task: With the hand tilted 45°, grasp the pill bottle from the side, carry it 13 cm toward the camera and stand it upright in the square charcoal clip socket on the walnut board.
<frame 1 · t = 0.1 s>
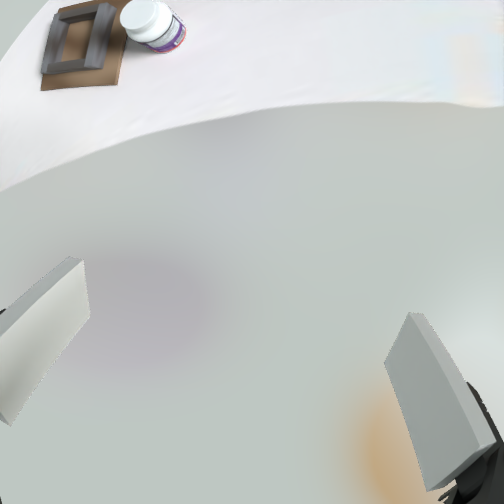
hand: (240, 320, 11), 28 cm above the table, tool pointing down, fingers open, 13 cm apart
clip stand: (85, 42, 30), on the table
pill bottle: (168, 36, 30), on the table
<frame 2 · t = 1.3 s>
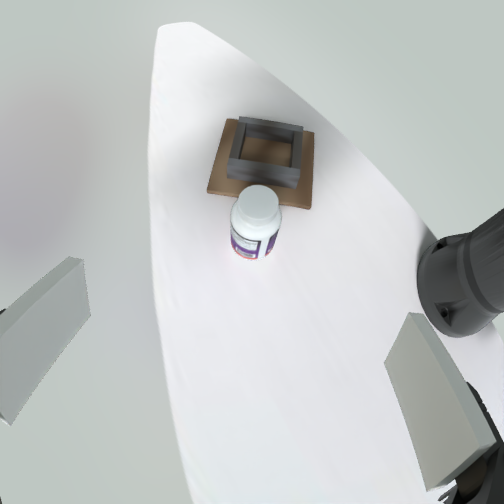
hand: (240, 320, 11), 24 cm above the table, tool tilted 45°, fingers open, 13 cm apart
clip stand: (265, 160, 43), on the table
pill bottle: (252, 242, 38), on the table
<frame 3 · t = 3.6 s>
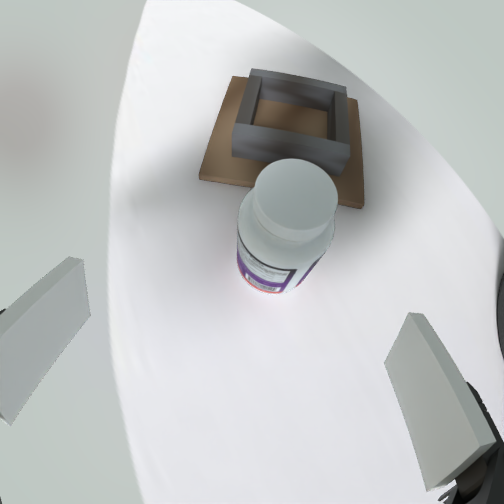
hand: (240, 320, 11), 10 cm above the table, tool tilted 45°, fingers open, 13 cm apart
clip stand: (289, 133, 27), on the table
pill bottle: (272, 261, 23), on the table
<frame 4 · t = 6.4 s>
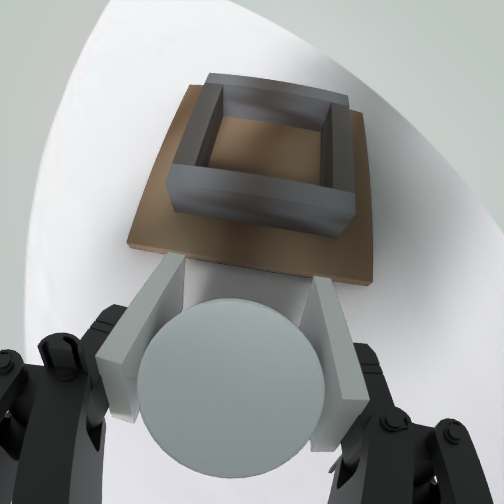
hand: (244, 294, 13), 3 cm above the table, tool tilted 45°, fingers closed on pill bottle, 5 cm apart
clip stand: (265, 167, 19), on the table
pill bottle: (231, 376, 15), on the table, touching gripper
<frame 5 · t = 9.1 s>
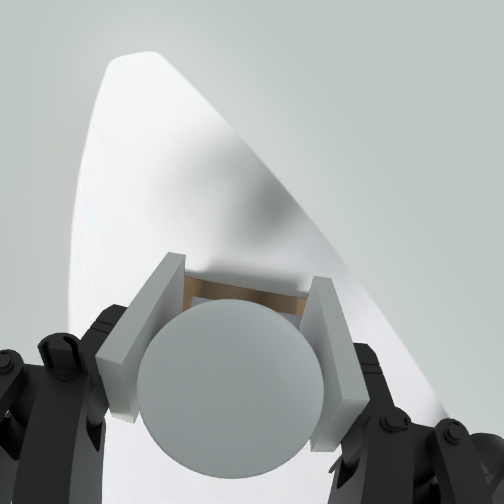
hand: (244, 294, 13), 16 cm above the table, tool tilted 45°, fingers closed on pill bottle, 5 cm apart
clip stand: (236, 362, 27), on the table
pill bottle: (231, 377, 15), point 13 cm above the table, touching gripper
when the fingers open (6 cm above the table, at t = 12.0 s): pill bottle drops 2 cm, resting on clip stand.
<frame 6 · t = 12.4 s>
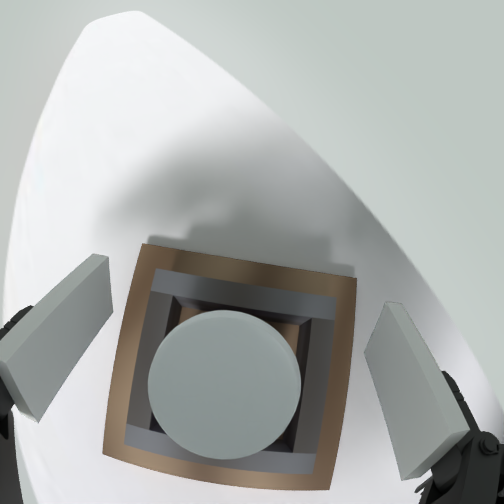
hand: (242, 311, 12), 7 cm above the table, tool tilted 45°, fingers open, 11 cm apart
clip stand: (231, 375, 17), on the table
pill bottle: (227, 376, 16), point 1 cm above the table, touching clip stand
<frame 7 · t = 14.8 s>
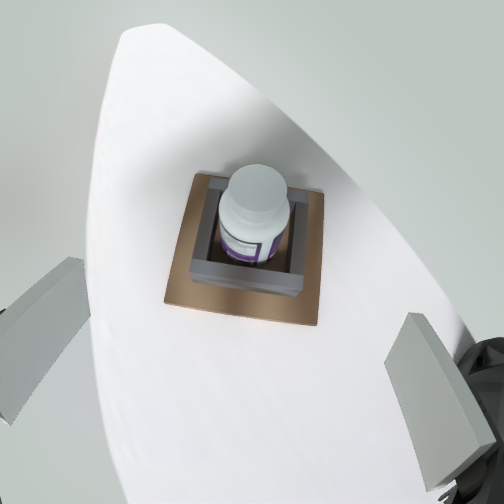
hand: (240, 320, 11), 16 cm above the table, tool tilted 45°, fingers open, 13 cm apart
clip stand: (250, 245, 30), on the table
pill bottle: (248, 243, 29), point 1 cm above the table, touching clip stand
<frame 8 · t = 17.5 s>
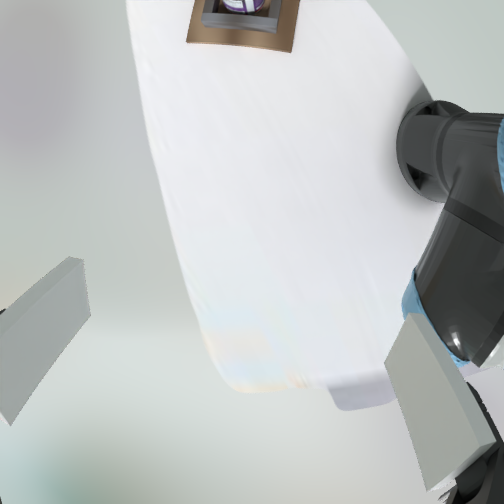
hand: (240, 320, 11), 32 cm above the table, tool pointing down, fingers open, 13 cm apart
clip stand: (246, 3, 30), on the table
pill bottle: (244, 2, 30), point 1 cm above the table, touching clip stand
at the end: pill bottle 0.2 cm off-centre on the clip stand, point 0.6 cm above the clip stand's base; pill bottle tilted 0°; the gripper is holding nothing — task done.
